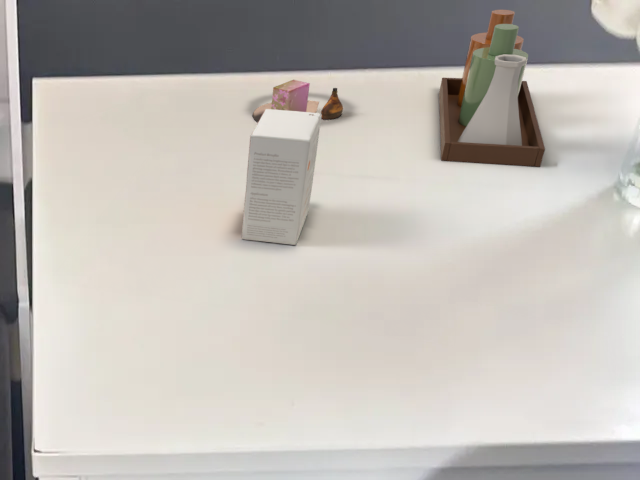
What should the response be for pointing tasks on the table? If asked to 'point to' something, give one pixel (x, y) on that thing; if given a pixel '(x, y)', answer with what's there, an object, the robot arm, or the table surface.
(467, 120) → the green bottle
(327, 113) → the plate of sweets
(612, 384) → the table surface
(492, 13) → the amber bottle
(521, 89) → the tray
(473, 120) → the flask
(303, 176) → the small box
